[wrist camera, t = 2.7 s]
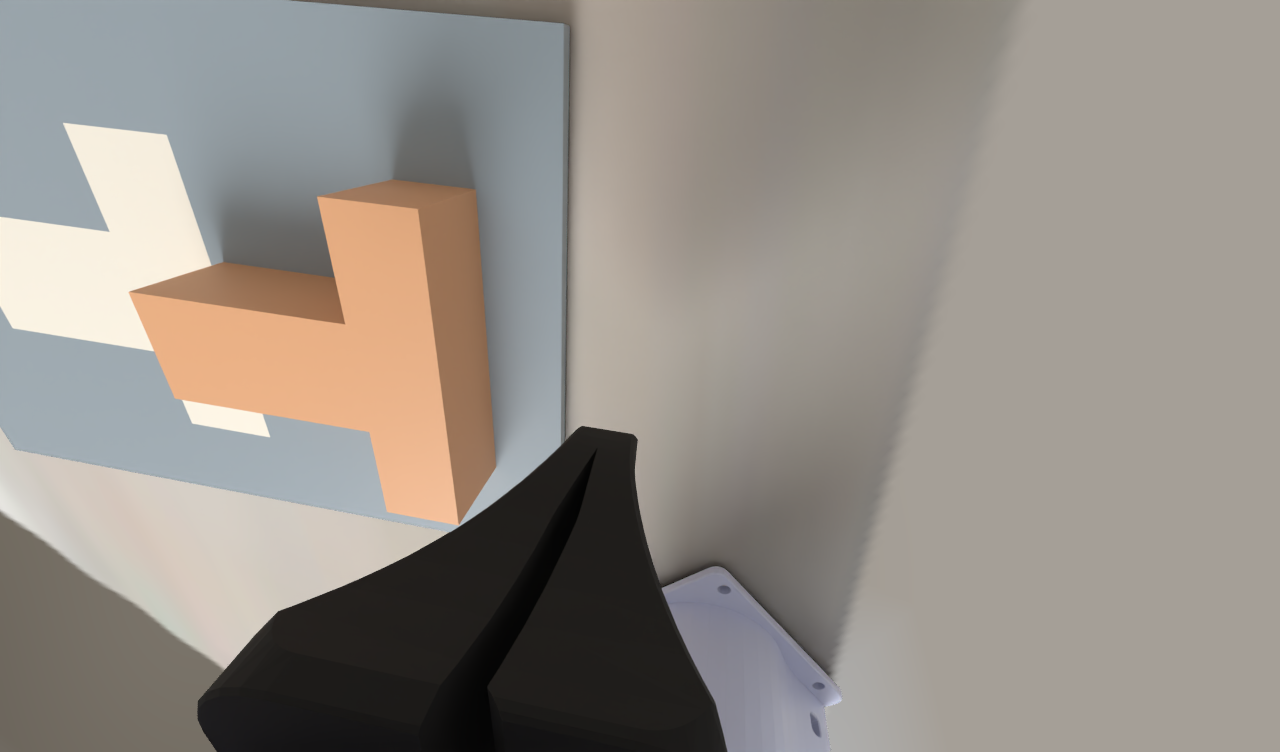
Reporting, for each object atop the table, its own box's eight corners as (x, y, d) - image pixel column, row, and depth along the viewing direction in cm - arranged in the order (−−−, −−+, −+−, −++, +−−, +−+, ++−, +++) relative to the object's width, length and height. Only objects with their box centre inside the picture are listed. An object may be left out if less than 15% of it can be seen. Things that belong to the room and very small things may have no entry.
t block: (475, 189, 14) (417, 208, 11) (495, 467, 19) (458, 525, 16) (187, 154, 15) (72, 165, 12) (278, 429, 20) (210, 478, 17)
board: (570, 26, 12) (563, 23, 12) (563, 543, 21) (559, 553, 21) (-285, -46, 15) (-316, -51, 14) (28, 443, 24) (15, 449, 23)
